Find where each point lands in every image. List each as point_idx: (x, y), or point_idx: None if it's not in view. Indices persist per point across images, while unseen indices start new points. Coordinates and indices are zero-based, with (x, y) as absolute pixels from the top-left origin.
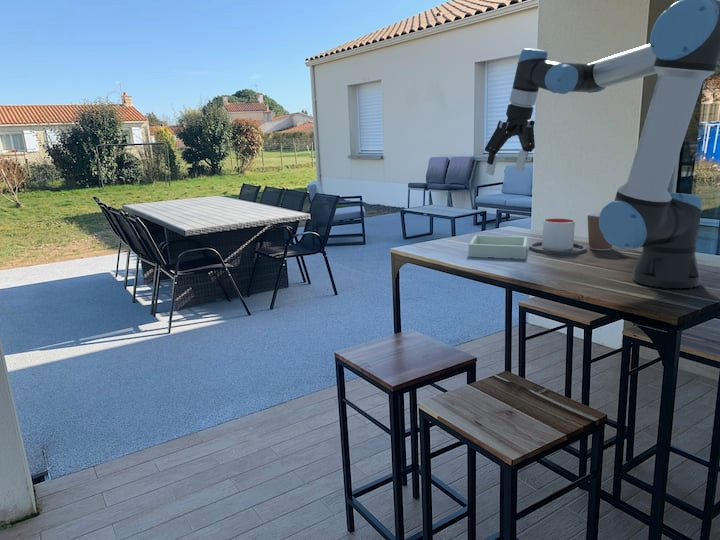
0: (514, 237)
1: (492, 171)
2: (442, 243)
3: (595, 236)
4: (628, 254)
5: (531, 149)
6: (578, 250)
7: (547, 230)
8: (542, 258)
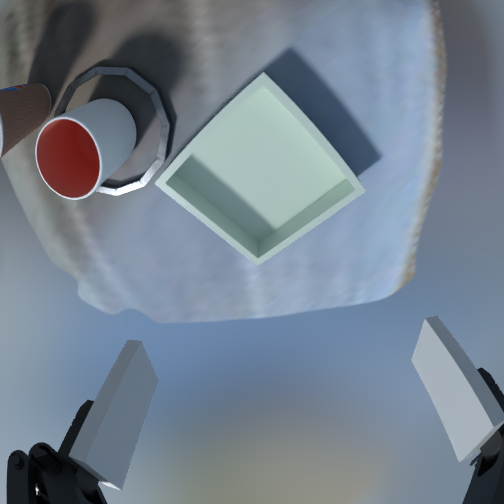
0: (186, 198)
1: (449, 332)
2: (291, 296)
3: (32, 99)
4: (33, 39)
5: (35, 458)
6: (95, 72)
7: (114, 145)
8: (215, 57)
